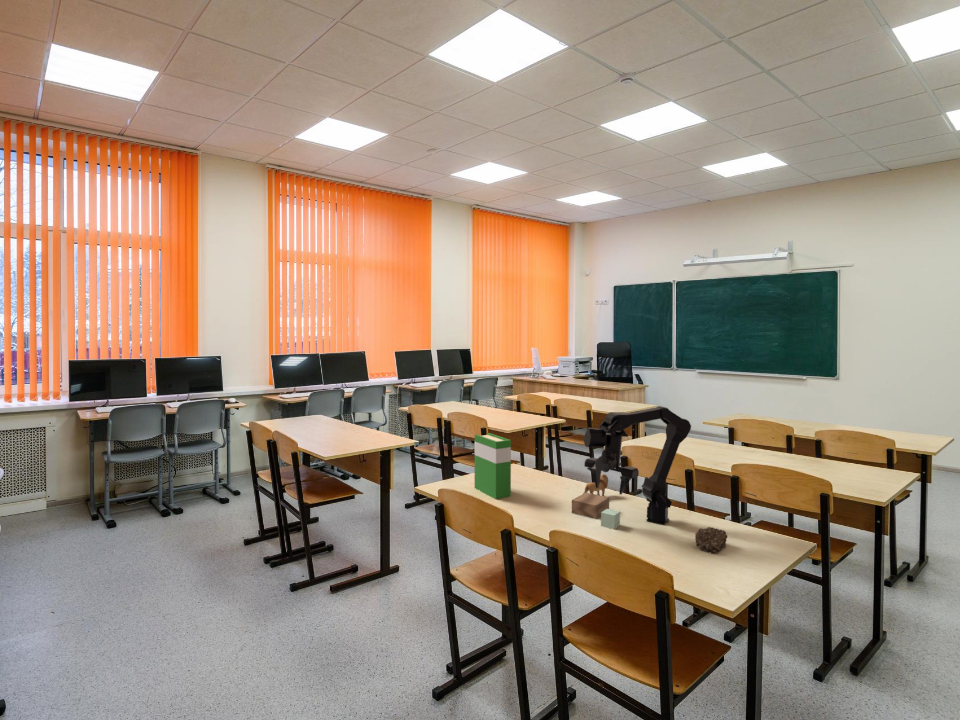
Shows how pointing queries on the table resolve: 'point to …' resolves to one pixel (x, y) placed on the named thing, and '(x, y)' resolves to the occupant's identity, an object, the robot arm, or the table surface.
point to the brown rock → (711, 539)
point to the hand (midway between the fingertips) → (608, 491)
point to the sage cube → (610, 518)
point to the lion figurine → (602, 485)
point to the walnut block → (590, 505)
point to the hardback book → (493, 465)
